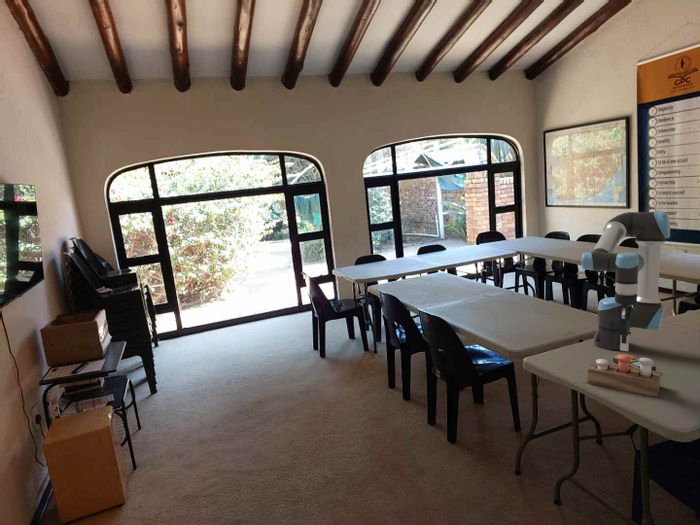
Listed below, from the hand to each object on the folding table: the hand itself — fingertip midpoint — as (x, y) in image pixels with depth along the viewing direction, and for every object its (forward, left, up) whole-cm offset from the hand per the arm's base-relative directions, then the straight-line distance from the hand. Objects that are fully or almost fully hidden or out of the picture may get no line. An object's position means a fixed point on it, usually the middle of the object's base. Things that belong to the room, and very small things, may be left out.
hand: (624, 350), depth 183 cm
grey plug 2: (0, +8, -10) cm, 13 cm away
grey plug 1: (0, -7, -14) cm, 16 cm away
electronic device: (-20, +1, -16) cm, 26 cm away
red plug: (0, 0, -10) cm, 10 cm away
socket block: (0, 0, -15) cm, 15 cm away
